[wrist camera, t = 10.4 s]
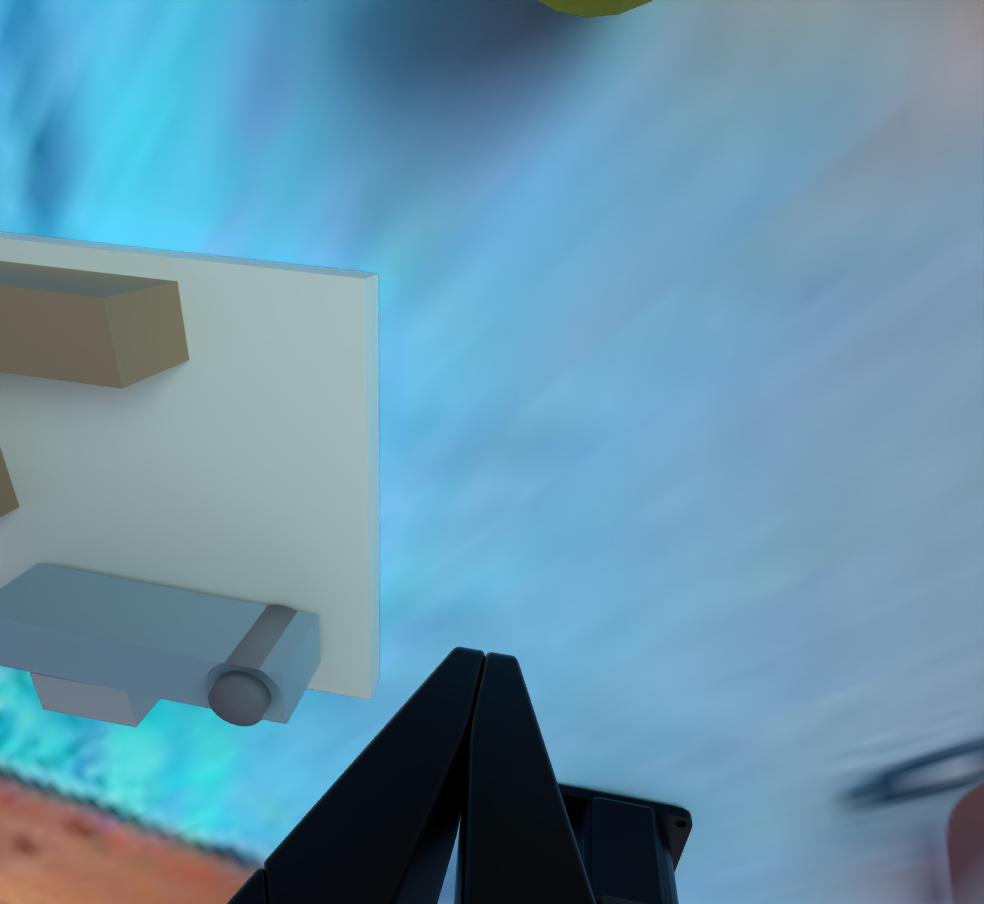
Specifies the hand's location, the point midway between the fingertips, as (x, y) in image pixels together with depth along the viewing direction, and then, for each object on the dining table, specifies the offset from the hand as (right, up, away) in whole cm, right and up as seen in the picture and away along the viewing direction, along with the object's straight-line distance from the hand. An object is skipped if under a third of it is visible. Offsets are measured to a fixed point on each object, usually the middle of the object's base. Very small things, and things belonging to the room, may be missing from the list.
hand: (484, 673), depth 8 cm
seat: (-13, +2, +14) cm, 19 cm away
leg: (-13, -4, +15) cm, 20 cm away
